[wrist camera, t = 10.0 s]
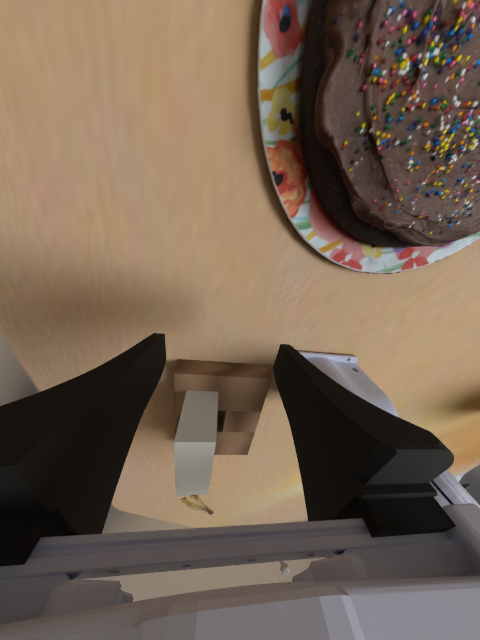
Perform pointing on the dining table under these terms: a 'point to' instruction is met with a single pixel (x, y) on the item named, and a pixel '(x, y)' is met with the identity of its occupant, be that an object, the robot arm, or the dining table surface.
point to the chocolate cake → (373, 126)
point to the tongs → (197, 507)
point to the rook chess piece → (285, 567)
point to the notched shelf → (227, 398)
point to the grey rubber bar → (195, 443)
